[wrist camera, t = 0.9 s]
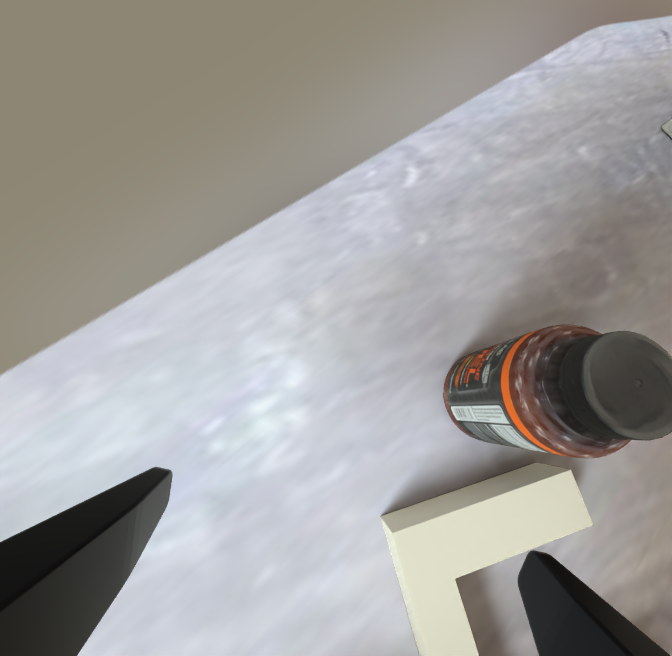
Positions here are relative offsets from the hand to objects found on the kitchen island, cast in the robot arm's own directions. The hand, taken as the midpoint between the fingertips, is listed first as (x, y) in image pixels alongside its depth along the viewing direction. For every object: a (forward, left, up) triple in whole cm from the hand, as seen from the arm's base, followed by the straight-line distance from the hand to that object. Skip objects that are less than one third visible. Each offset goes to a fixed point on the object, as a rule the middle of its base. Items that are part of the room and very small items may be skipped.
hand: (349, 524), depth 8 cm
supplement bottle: (+1, -11, -14) cm, 18 cm away
